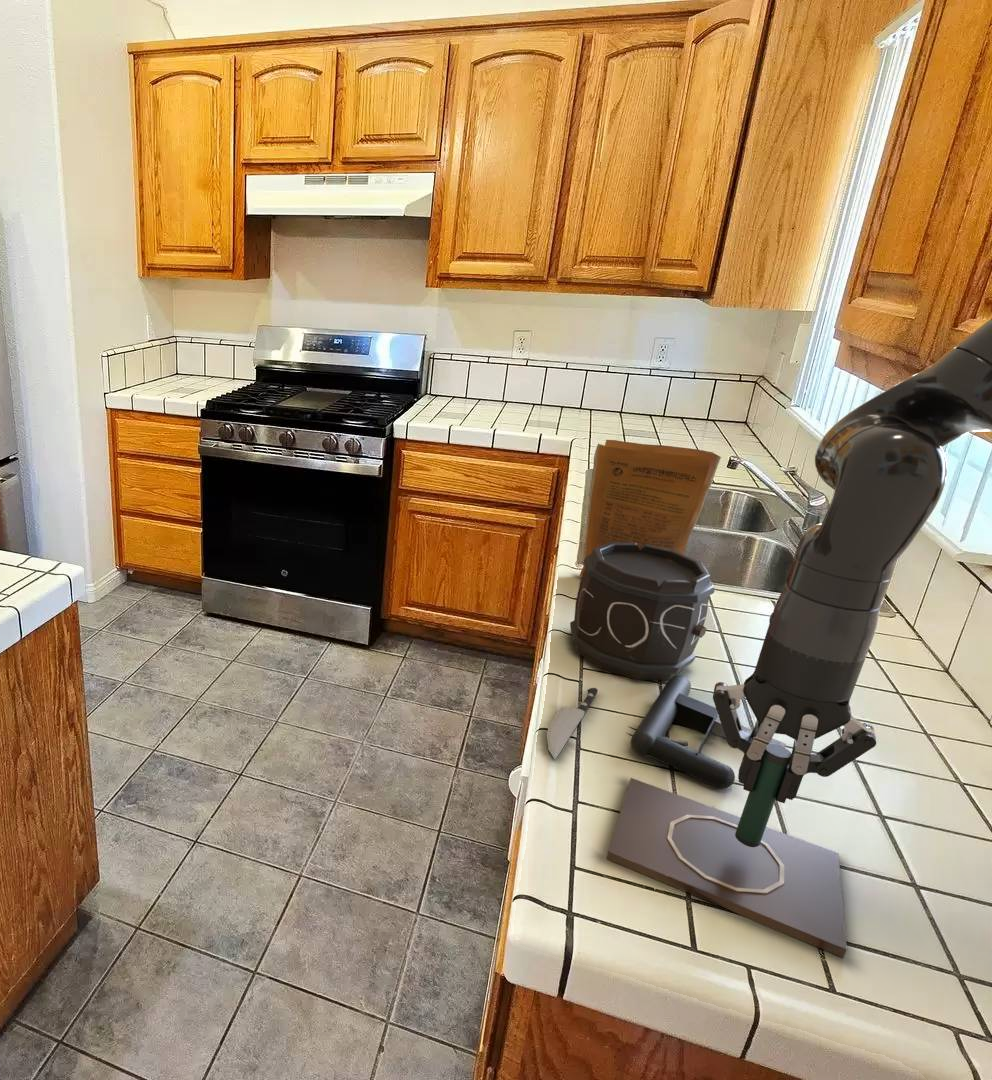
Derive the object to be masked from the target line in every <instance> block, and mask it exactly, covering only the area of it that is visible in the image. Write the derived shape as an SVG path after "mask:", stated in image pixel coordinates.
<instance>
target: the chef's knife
mask: <svg viewBox="0 0 992 1080" xmlns="http://www.w3.org/2000/svg"><path fill="white" fill-rule="evenodd" d="M586 692H587V693H586V696H585V698H584V699H583V701H581V703H580V704H579V706H578V707H571V706H570V707H569V706H560V708H559V709H558V711H557V713H556V714H555V716H554V718H553V720H552V721H551V723H549V726H548V729H547V732H546V741H547V748H548V751H549V752H550V753H549V754H551V756H552V757H553V759H554V760H556V759H557V757H558V756H559V754H560V753H561V752H562V750H563V749H564V748H565V745H566V744H567V743H568V741H569V739H570V738H571V736H572V734H573V733H574V732H575V730H576V728H577V727H578V725H579V724H580V723H581V721H582V719H583V717H584V716H585V714H586V712H587V710H588V709H589V707H590V705H591V704H592V702H593V701H594V700H595V698H596V696H597V694H598V692H599V691H598V688H597V687H589V688H588V689H587V690H586Z"/></svg>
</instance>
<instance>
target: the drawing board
mask: <svg viewBox="0 0 992 1080" xmlns="http://www.w3.org/2000/svg"><path fill="white" fill-rule="evenodd" d="M740 818H741V816H737V815H735V814H732V813H731V812H730V813H729V812H726V811H724V810H721V809H718V808H715V807H712V806H710V805H708V804H704V803H701V802H699V801H697V800H693V799H690V798H688V797H685V796H683V795H679V794H677V793H674V792H672V791H670V790H669V791H668V790H666V789H663V788H660V787H657V786H655V785H653V784H649V783H647V782H644V781H641V780H638V779H636V778H633V777H630V778H629V781H628V786H627V789H626V792H625V794H624V798H623V801H622V805H621V808H620V811H619V815H618V818H617V821H616V824H615V828H614V831H613V834H612V838H611V841H610V844H609V846H608V850H607V855H606V857H605V858H606V860H608V861H611V862H613V863H615V864H618V865H620V866H623V867H625V868H627V869H630V870H633V871H634V872H637V873H639V874H642V875H645V876H646V877H649V878H652V879H654V880H655V881H656V880H657V881H658V882H661V883H664V884H665V885H668V886H671V887H673V888H675V889H678V890H680V891H682V892H685V893H687V894H690V895H692V896H695V897H697V898H699V899H702V900H704V901H705V902H709V903H711V904H714V905H715V906H718V907H720V908H723V909H726V910H729V911H731V912H733V913H735V914H737V915H740V916H742V917H744V918H747V919H749V920H752V921H755V922H757V923H759V924H761V925H764V926H767V927H768V928H771V929H773V930H776V931H778V932H781V933H783V934H784V935H785V934H786V935H788V936H790V937H793V938H795V939H796V940H800V941H802V942H804V943H806V944H809V945H811V946H815V947H817V948H818V949H821V950H823V951H826V952H829V953H831V954H833V955H835V956H838V957H840V958H845V955H846V953H847V951H848V945H847V936H846V934H847V933H846V925H845V924H846V923H845V922H846V921H845V911H844V899H843V889H842V877H841V864H840V856H839V855H840V854H839V852H838V851H835V850H832V849H829V848H826V847H823V846H821V845H818V844H814V843H812V842H810V841H806V840H804V839H801V838H799V837H796V836H793V835H790V834H787V833H785V832H782V831H779V830H776V829H774V828H771V827H769V826H766V828H765V831H764V834H763V837H762V839H761V842H760V845H759V846H758V847H749V846H746V845H744V844H742V843H741V842H739V841H738V840H737V839H736V837H735V833H736V830H737V827H738V824H739V821H740Z"/></svg>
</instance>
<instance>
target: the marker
mask: <svg viewBox="0 0 992 1080" xmlns="http://www.w3.org/2000/svg"><path fill="white" fill-rule="evenodd" d="M791 756H792V751H790V750H789V749H788V748H787V747H785V748H784V747H782V746H780V745H777V744H772V743H769V744H768V745H767V747H766V749H765V751H764V753H763V755H762V757H761V759H762V761H761V766H760V769H759V772H758V775H757V778H756V781H755V784H754V787H753V790H752V792H749V791H748V794H747V797H746V800H745V804H744V807H743V809H742V812H741V815H740V817H741V818H740V821H739V824H738V827H737V830H736V833H735V837H736V839H737V840H738V841H739V842H741V843H742V844H744V845H746V846H749V847H758V846H759V845H760V842H761V839H762V837H763V834H764V831H765V828H766V827H767V825H768V823H769V819H770V817H771V814H772V811H773V808H774V805H775V802H776V796H777V793H778V790H779V788H780V785H781V782H782V779H783V776H784V773H785V771H786V768H787V766H788V763H789V762H790V759H791Z"/></svg>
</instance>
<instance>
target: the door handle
mask: <svg viewBox="0 0 992 1080" xmlns="http://www.w3.org/2000/svg"><path fill="white" fill-rule="evenodd" d="M660 683H663V684H665V685H664V687H663V688H662V690H661V691H660V693H659V694H658V696H656V697H657V698H656V699H655V700H654V702H653V703H652V705H651V707H650V708H649V710H648V711H647V713H646V714H645V716H644V717H643V719H642V720H641V722H639V723H640V724H639V725H638V727H637V728H634V727H631V726H628V725H627V728H630V729H631V730H633V731H634V732H633V734H631V733H628V732H626V731H625V732H624V733H625V734H627V735H629V736H630V737H631V738H630V746H631V749H632V750H633V751H634V752H635V753H636V754H638V755H640V756H642V757H643V756H644V757H650V758H653V759H655V760H656V761H658V762H661V763H663V764H666V765H668V766H670V767H672V768H674V769H676V770H679V771H681V772H683V773H684V774H687V775H689V776H692V777H694V778H696V779H698V780H700V781H702V782H705V783H707V784H709V785H711V786H713V787H716V788H717V789H721V790H726V789H728V788H730V787H731V786H732V785H733V784H734V783H735V779H736V776H735V772H734V770H733V769H732V767H731V766H730V765H728V764H725V763H723V762H720V761H718V760H716V759H714V758H711V757H709V756H707V755H705V754H703V753H701V752H702V749H703V747H704V746H705V744H706V742H707V740H708V737H709V736H710V734H711V732H712V733H714V734H716V735H718V736H721V737H724V738H726V736H725V733H724V730H723V727H722V724H721V721H720V718H719V715H718V712H717V709H716V706H713V705H710V704H707V703H705V702H703V701H700V700H697V699H695V698H693V697H691V696H689V695H690V692H691V687H692V683H691V681H690V680H689V679H688V677H686V676H684V675H678V674H677V675H675V676H673V677H672V678H670V679H669V680H667V682H665V681H664V680H660ZM673 722H674V723H677V724H680V725H682V726H684V727H686V728H689V729H691V730H693V731H696V732H698V733H700V734H702V735H704V737H703V739H702V741H701V743H700V745H699V747H698V749H697V750H694V749H691V748H689V747H688V746H689V742H688V740H680V739H675V738H670V737H667V736H666V734H667V732H668V731H669V729H670V727H671V726H672V724H673ZM741 726H742V729H743V732H745V733H746V734H748V735H751V733H752V731H753V729H751V728H749V727H747V726H744V725H742V724H741ZM770 743H772V744H777V745H780V746H782V747H784V748H787V747H786V746H787V743H785V742H783V741H780V740H778V739H775V738H773V737H772V739H771V741H770Z"/></svg>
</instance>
